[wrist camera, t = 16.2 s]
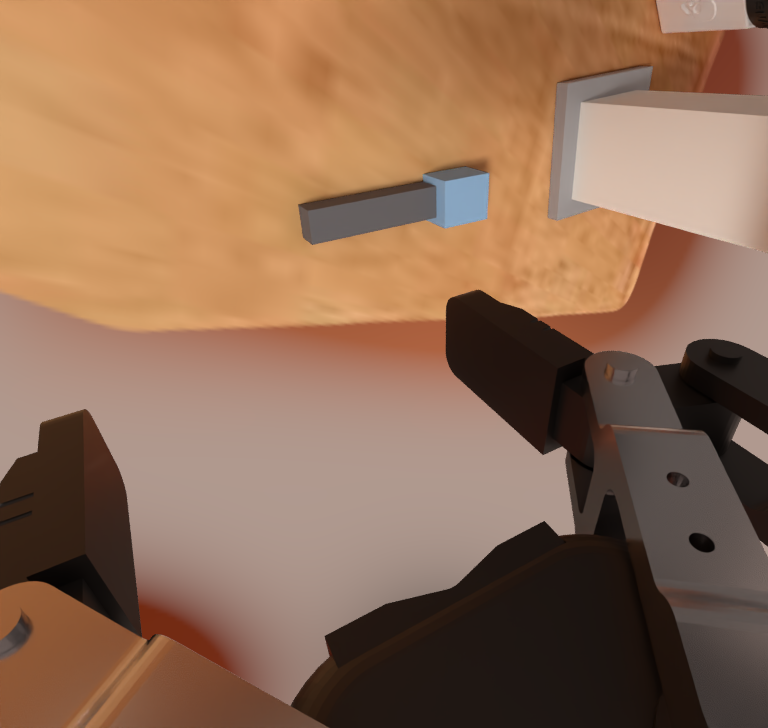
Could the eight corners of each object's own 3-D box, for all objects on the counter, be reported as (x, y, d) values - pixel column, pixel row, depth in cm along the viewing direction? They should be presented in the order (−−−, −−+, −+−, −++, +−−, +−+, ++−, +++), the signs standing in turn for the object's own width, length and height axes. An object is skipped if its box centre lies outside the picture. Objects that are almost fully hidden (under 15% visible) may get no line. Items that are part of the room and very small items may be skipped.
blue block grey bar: (304, 244, 47) (319, 257, 44) (297, 196, 45) (312, 206, 42) (464, 209, 54) (487, 218, 51) (465, 166, 52) (489, 172, 48)
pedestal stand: (506, 230, 58) (820, 352, 33) (510, 92, 50) (922, 118, 25) (622, 194, 64) (960, 275, 39) (641, 66, 56) (1078, 66, 31)
